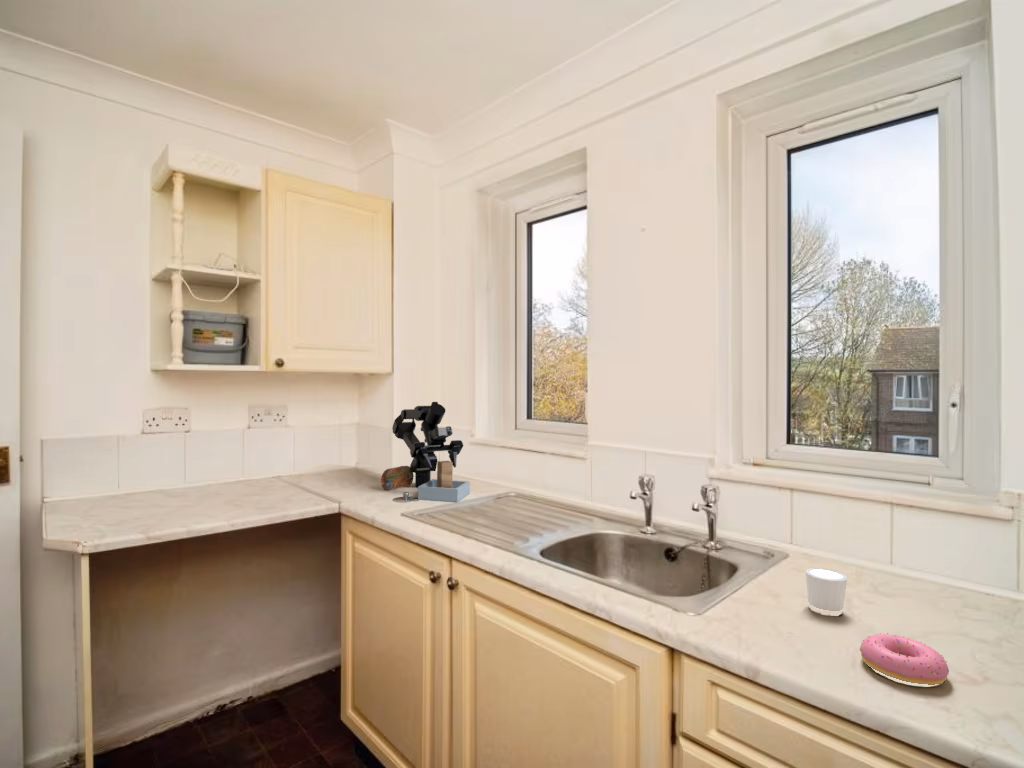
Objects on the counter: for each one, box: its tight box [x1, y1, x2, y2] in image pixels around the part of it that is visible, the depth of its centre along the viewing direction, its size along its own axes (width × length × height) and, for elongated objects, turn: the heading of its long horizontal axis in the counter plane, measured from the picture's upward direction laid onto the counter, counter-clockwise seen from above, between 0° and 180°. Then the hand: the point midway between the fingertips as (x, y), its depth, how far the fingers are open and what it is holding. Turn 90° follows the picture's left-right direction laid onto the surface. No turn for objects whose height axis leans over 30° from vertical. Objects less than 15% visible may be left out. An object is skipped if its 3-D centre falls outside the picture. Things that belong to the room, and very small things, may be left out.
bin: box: [417, 478, 471, 503], centre depth 192 cm, size 14×14×5 cm
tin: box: [380, 465, 414, 491], centre depth 206 cm, size 15×3×8 cm, turn 148°
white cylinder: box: [805, 567, 848, 611], centre depth 104 cm, size 7×7×7 cm
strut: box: [436, 460, 454, 488], centre depth 192 cm, size 4×4×12 cm
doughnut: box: [859, 632, 950, 685], centre depth 83 cm, size 11×11×4 cm
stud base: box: [392, 491, 419, 504], centre depth 186 cm, size 9×9×3 cm
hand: (443, 467), depth 193 cm, fingers open, 9 cm apart
